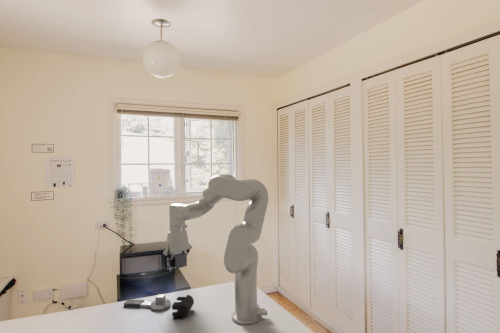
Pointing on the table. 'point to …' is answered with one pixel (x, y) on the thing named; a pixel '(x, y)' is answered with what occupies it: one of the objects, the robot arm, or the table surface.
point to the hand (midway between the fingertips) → (178, 264)
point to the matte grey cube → (180, 260)
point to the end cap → (182, 307)
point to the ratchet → (150, 303)
